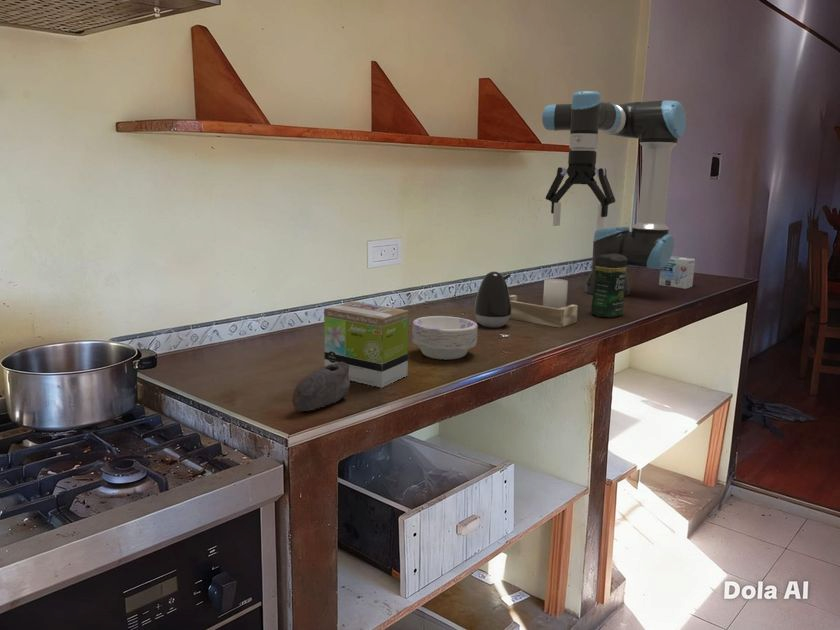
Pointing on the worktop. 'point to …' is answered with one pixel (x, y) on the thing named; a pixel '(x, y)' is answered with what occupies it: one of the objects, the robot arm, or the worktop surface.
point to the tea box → (367, 341)
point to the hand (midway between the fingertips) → (577, 227)
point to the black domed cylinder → (493, 301)
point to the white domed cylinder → (555, 293)
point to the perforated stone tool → (322, 387)
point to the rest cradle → (543, 313)
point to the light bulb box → (678, 272)
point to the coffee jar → (609, 285)
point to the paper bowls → (444, 336)
